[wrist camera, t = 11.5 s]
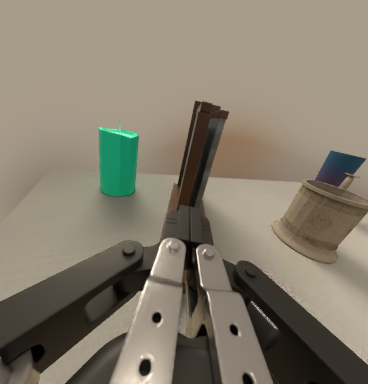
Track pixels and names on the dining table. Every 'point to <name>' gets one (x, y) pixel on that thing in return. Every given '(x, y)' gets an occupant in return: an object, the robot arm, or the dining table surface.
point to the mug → (320, 219)
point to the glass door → (194, 152)
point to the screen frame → (204, 164)
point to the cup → (338, 168)
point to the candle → (117, 161)
